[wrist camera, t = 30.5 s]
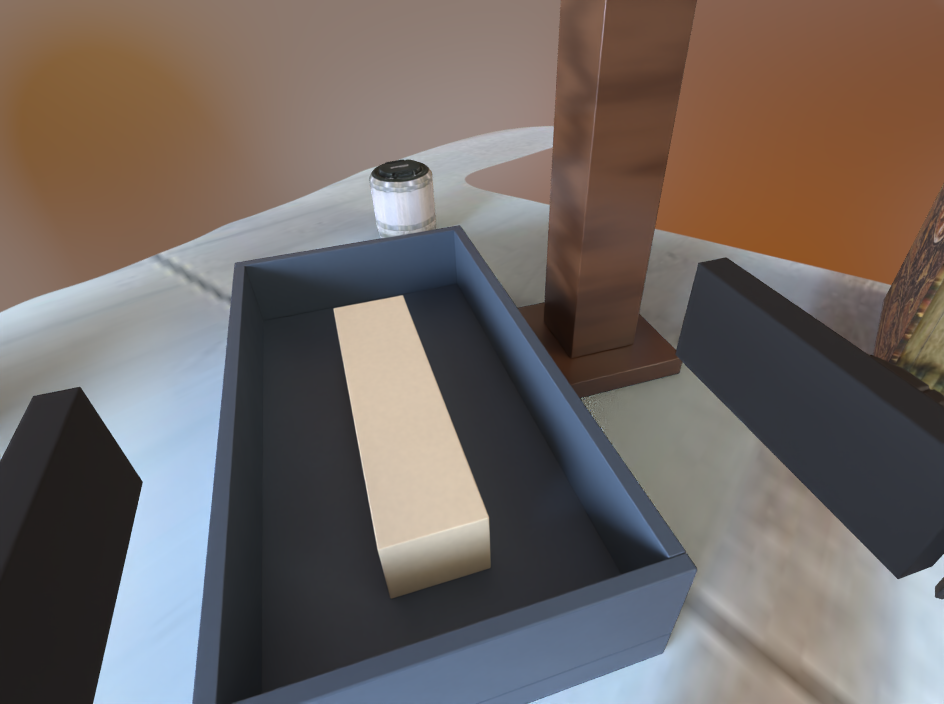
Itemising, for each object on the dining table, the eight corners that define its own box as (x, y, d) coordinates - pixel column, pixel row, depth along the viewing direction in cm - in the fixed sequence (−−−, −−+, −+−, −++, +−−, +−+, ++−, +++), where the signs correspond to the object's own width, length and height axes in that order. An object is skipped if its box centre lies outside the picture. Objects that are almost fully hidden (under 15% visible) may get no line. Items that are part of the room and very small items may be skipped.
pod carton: (344, 354, 39) (333, 308, 36) (409, 340, 40) (403, 294, 37) (390, 599, 24) (377, 550, 22) (491, 568, 25) (489, 517, 23)
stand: (494, 313, 46) (486, -212, 26) (600, 291, 48) (664, -210, 29) (564, 425, 35) (635, -317, 16) (696, 391, 37) (902, -301, 18)
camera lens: (371, 234, 59) (359, 162, 54) (425, 222, 61) (418, 151, 56) (389, 258, 54) (378, 182, 49) (446, 244, 56) (441, 169, 51)
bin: (260, 338, 44) (234, 262, 40) (464, 297, 48) (460, 224, 43) (255, 805, 20) (187, 743, 16) (664, 653, 24) (699, 569, 20)
